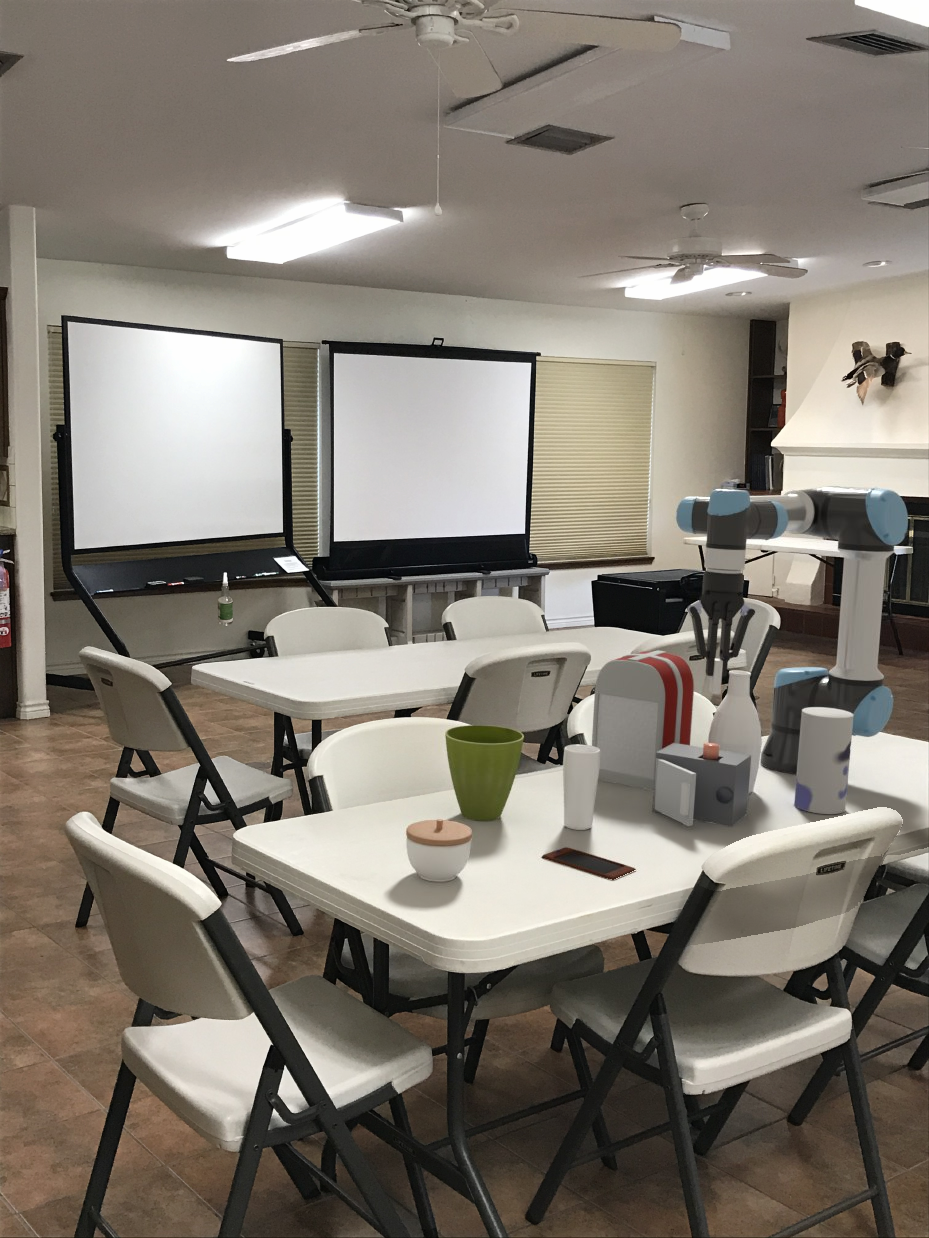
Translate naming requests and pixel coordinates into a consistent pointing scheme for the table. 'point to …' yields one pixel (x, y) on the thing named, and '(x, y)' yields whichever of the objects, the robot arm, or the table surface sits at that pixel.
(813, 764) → the container
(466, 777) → the flower pot
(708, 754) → the latch button
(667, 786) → the side door
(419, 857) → the lidded jar
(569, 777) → the drinking glass
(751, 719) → the bottle
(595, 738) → the striped box
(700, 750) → the box
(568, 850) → the smartphone
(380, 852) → the table surface
